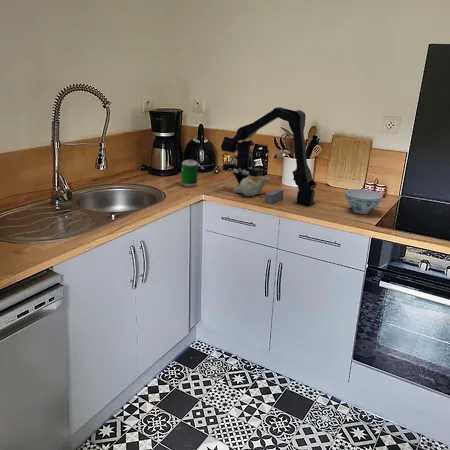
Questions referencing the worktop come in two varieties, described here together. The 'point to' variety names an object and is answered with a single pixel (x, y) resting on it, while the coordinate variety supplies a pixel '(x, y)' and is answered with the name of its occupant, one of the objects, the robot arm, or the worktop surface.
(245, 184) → the grey lumpy stone
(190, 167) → the soda can
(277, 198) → the bar
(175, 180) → the worktop surface
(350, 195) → the chinaware
